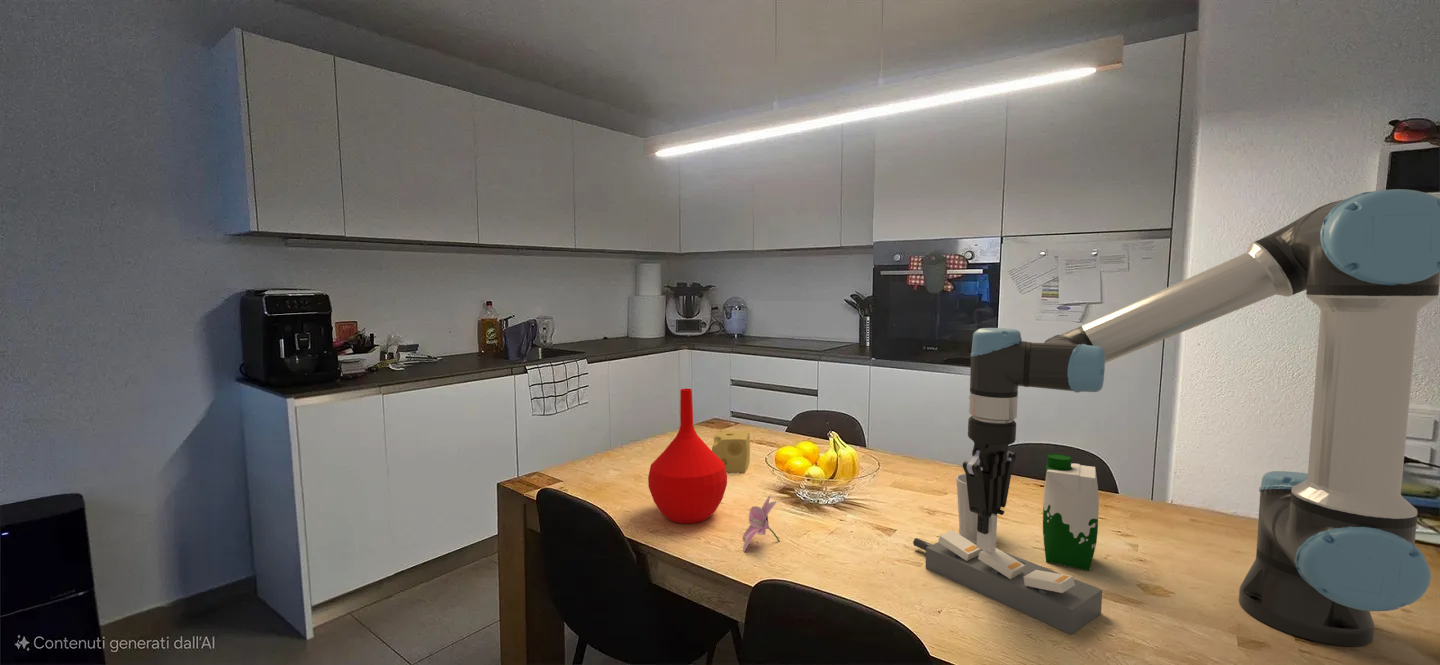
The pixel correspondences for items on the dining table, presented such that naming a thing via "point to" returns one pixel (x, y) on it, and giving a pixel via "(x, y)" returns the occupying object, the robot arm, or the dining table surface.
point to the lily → (758, 521)
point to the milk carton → (1070, 512)
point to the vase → (687, 473)
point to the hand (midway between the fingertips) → (985, 548)
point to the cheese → (733, 449)
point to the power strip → (1017, 588)
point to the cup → (965, 510)
